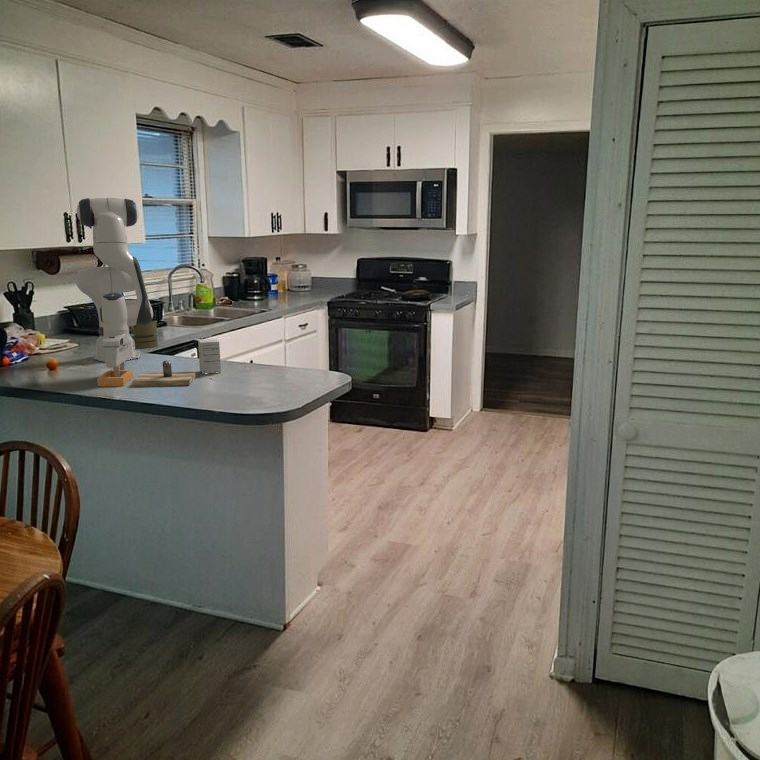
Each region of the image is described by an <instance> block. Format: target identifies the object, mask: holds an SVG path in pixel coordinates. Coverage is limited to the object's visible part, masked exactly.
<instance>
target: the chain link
mask: <svg viewBox="0 0 760 760" xmlns="http://www.w3.org/2000/svg"><path fill="white" fill-rule="evenodd" d="M120 371H121V375H120V376H115V372H114V370H106V371H105V372H104V373H102V375H100V376H98V377H97V379H96V380H97V386H101V387H124V386H126V385H127V384H128V383H129V382H130V381H131V380H132V378H133V379H134V372H133V369H130V370H129V369H125V370H120ZM129 380H130V381H129ZM128 381H129V382H128ZM127 382H128V383H127ZM126 383H127V384H126ZM125 384H126V385H125Z"/></svg>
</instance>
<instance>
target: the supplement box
mask: <svg viewBox="0 0 760 760" xmlns="http://www.w3.org/2000/svg"><path fill="white" fill-rule="evenodd" d="M197 345H198V360H199V361H198V362H199V372H202V373H201V374H202V375H203V374H204V375H206V374H205V373H216V372H221V373H222V369H221V368H222V367H221V365H222V364H221V349H220V348H221V347H220V341H219V340H218V339H217V338H204V339H203V338H202V339H201V338H200V339H197Z"/></svg>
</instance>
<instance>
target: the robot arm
mask: <svg viewBox="0 0 760 760" xmlns="http://www.w3.org/2000/svg"><path fill="white" fill-rule="evenodd" d="M76 215H77V218H78V219H77V220H79V222H80V224H82V225H83V226H85V227H87V228H89V229H91V230H92V243H93V244H92V245H93V246H92V247H93V254H94V255H95V256H96V257H97V258H98V259H99V261H101V262H102V263H103V264H104V265H105V266H90V267H87V268H82V269H81V268H80V270H78V272H77V274H76V276H75V283H76V286H77V288H78V290H79V291H80V292H81V293H83V294H85V295H86V296H87V297H89V299H91V301H92V302H93V304H94V306H95V308H96V311H97V314H98V322H99V323H98V324H99V325H98V334H99V335H98V336H99V337H98V338H97V339H96V342H95V343H96V356H93V360H94V361H95V360H97V361H99V362H104V363H105V365H106V367H107V368H112V369H113V370H112V371H114V372H115V376H120V375H121V371H120V370H126V361H130V359H131V360H137V359H136V358H138V359H140V358H141V354H142V352H141V349H136V348H135V342H134V340H133V338H132V336H131V334H130V333H131V330H130V329H131V325H136V326H146V325H147V324H149V323H150V322H153V321H154V320H153V318H154V311H153V308H152V304H151V302H150V299H149V295H148V293H147V288H146V284H145V281H144V277H143V273H142V270H141V265H140V263H139V260H138V259H137V257H136V256H133V255H132V254H131V251H130V250H129V247H128V237H127V231H126V227H131V226H135V225H136V224H137V222H138V218H139V208H138V206H137V205H136V202H135V201H134V200H132V199H130V198H124V199H123V198H117V197H115V198H114V197H99V198H98V197H97V198H89V197H87V198H83V199H80V200H79V201H78V204H77V207H76ZM129 292H135V295H136V299H125V296H124V295H123V294H122V293H129ZM139 357H140V358H139Z"/></svg>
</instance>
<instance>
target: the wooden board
mask: <svg viewBox="0 0 760 760" xmlns="http://www.w3.org/2000/svg"><path fill="white" fill-rule="evenodd" d="M195 377H196V378H197V371H172V377H164V376H163V371H161V372H158V371H157V372H140V374H139V375H138V376H136V377H135V378H133V380H132V381H131V382H132V383H131V384H132V385H131V386H132V387H133V386H145V387H170V386H169V385H190V386H191V384H192V383H193V382H194V381H193V379H194V378H195ZM196 378H195V379H196ZM195 379H194V380H195ZM192 381H193V382H192ZM191 382H192V383H191ZM190 383H191V384H190Z"/></svg>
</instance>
